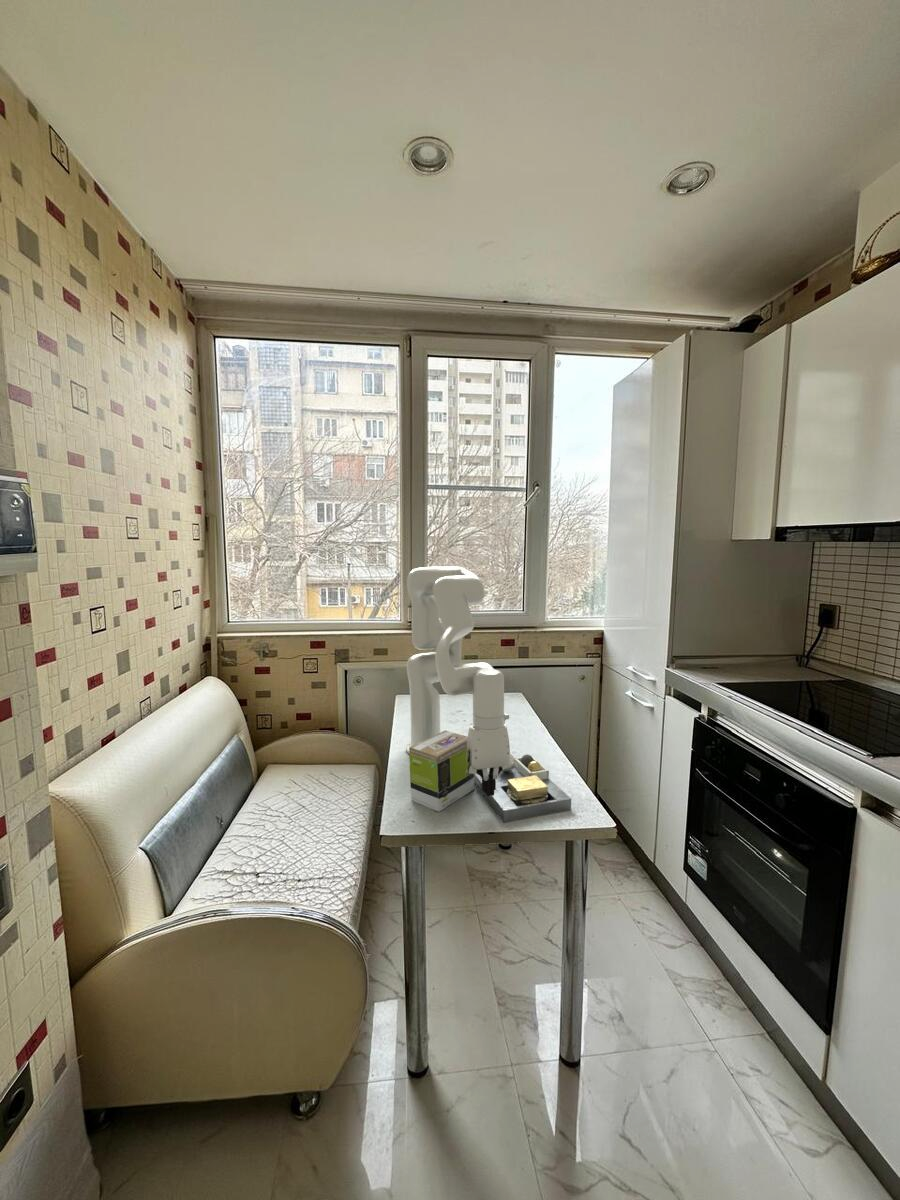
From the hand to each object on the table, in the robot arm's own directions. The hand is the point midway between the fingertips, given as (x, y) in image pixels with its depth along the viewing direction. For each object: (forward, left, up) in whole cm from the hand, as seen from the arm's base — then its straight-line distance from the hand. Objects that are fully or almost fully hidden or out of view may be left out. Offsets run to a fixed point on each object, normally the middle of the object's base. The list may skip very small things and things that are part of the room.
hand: (488, 793), depth 121 cm
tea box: (-11, -9, -5) cm, 15 cm away
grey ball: (-13, +17, 0) cm, 21 cm away
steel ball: (-13, +10, +1) cm, 17 cm away
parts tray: (-11, +17, -2) cm, 20 cm away
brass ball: (-9, +17, 0) cm, 19 cm away
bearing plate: (-5, +10, -5) cm, 13 cm away
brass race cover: (0, +10, -2) cm, 11 cm away
